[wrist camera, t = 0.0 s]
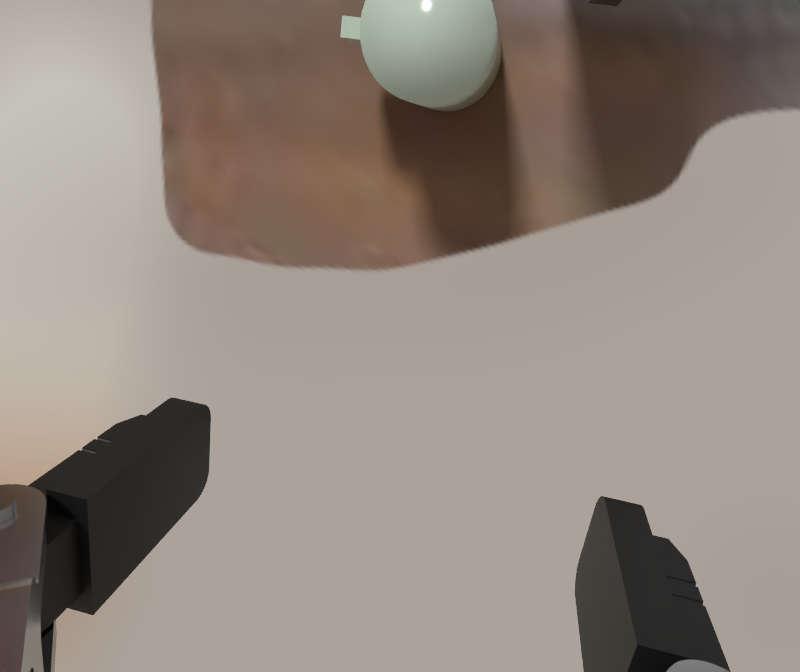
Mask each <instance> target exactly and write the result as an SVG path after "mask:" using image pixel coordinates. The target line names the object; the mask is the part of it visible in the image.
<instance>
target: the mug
mask: <svg viewBox="0 0 800 672" xmlns="http://www.w3.org/2000/svg"><path fill="white" fill-rule="evenodd" d="M340 37H341V38H343V39H345V40H347V41H348V42H350V43H352V44H354V45H356V46H357V47H359V48H362V52H363V55H364V58H365V61H366V63H367V66H368V68H369V70H370V71H371V73H372V75H373V76H374V78H375V79H376V80H377V81H378V83H379V84H380V85H381V86H382V87H383V88H384V89H386V90H387V91H388V92H390V93H391V94H392V95H394V96H396V97H398V98H400V99H402V100H405V101H408V102H411V103H414V104H417V105H421V106H424V107H427V108H430V109H433V110H437V111H446V112H448V111H456V110H461V109H463V108H466V107H468V106H470V105H472V104H474V103H475V102H477V101H478V100H479V99H480V98H482V97H483V96H484V95H485V93H486V92H487V91H488V90H489V89H490V87H491V86H492V84H493V82H494V80H495V78H496V76H497V74H498V71H499V67H500V63H501V56H502V46H501V39H500V34H499V30H498V26H497V21H496V17H495V13H494V9H493V5H492V1H491V0H366V1H365V3H364V7H363V10H362V15H361V18H358V17H350V16H342V25H341V36H340Z"/></svg>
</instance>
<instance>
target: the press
mask: <svg viewBox="0 0 800 672" xmlns="http://www.w3.org/2000/svg"><path fill="white" fill-rule="evenodd" d="M621 1H622V0H590V1H589V3H594V4H603V5H612V6H618V5H619V4H620V2H621Z"/></svg>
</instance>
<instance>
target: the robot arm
mask: <svg viewBox="0 0 800 672" xmlns="http://www.w3.org/2000/svg"><path fill="white" fill-rule="evenodd" d="M210 420H211V415H210V410H209V408H208V406H206V405H203V404H199V403H194V402H190V401H185V400H181V399H177V398H170V399H168V400H167V401H165V402H164V403H162V404H161V405H160V406H158V407H157V408H156V409H154V410H153V411H152V412H150V413H149V414H147V415H146V416H145V415H139V416H137V417H134V418H131V419H128V420H125V421H123V422H120V423H117V424H115V425H114V426H113V427H111V428H110V429H108V430H107V431H105V432H104V433H103V434H101V435H100V436H98V439H97V440H95V439H94V440H93V441H91V442H90V443H88V444H87V445H85V446H84V447H83V449H82V451H80V450H78V451H77V452H75V453H74V454H73V455H71V456H70V457H68V458H67V459H65V460H64V461H63V462H61V463H60V464H58V465H57V466H56V467H54V468H53V469H51V470H50V471H48V472H47V473H45V474H44V475H43V476H41V477H40V478H38V479H37V480H36V481H34V482H33V483H31V484H30V485H28V486H26V485H19V484H7V485H0V672H54V667H55V651H56V633H57V632H56V619H57V617H59V616H60V614H61V613H62V612H63V611H64V610H65V609H66V608H70V609H73V610H77V611H80V612H84V613H88V614H91V615H94V614H95V612H96V611H97V610H98V609H99V608H100V607H101V606H102V604H104V602H105V601H106V600H107V599H108V598H109V597H110V596H111V595H112V594H113V593H114V591H115V590H116V589H117V588H118V587H119V586H120V585H121V584H122V583H123V581H124V580H125V579H126V578H127V577H128V576H129V575H130V574H131V573H132V571H133V570H134V569H135V568H136V567H137V566H138V565H139V564H140V563H141V561H142V560H143V559H144V558H145V557H146V556H147V555H148V554H149V553H150V552H151V550H152V549H153V548H154V547H155V546H156V545H157V544H158V543H159V542H160V540H161V539H162V538H163V537H164V536H165V535H166V533H167V532H169V530H170V529H171V528H172V527H173V526H174V525H175V524H176V523H177V522H178V520H179V519H180V518H181V517H182V516H183V515H184V514H185V513H186V512H187V510H188V509H189V508H190V507H191V506H192V505H193V504H194V503H195V502H196V501H197V499H198V498H199V497H200V495H201V493H202V491H203V489H204V487H205V484H206V481H207V478H208V473H209V453H210V422H211V421H210ZM695 585H696V582H695V579H694V576H693V574H692V571H691V569H690V566H689V564H688V561H687V560H686V559H685V557H684V556H683V555H682V554H681V553H680V552H679V551H678V549H676V547H675V546H674V545H673V544H672V543H671V542H670V540H669V539H666V538H662V537H657V536H653V535H652V532H651V529H650V526H649V523H648V520H647V517H646V514H645V511H644V508H643V507H642V506H641V505H638V504H633V503H629V502H625V501H621V500H616V499H612V498H607V497H603V496H601V497H600V498H599V499H598V501H597V503H596V506H595V509H594V513H593V516H592V519H591V523H590V526H589V529H588V532H587V536H586V539H585V542H584V546H583V549H582V552H581V556H580V559H579V563H578V567H577V573H576V582H575V597H576V605H577V615H578V624H579V633H580V641H581V650H582V659H583V668H584V672H730V669H729V667H728V664H727V661H726V659H725V656H724V654H723V651H722V649H721V646H720V643H719V641H718V638H717V636H716V633H715V631H714V628H713V625H712V623H711V620H710V618H709V615H708V613H707V610H706V607H705V606H703V600H702V597H701V595H700V592H699V589H698V587H696V586H695Z"/></svg>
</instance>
